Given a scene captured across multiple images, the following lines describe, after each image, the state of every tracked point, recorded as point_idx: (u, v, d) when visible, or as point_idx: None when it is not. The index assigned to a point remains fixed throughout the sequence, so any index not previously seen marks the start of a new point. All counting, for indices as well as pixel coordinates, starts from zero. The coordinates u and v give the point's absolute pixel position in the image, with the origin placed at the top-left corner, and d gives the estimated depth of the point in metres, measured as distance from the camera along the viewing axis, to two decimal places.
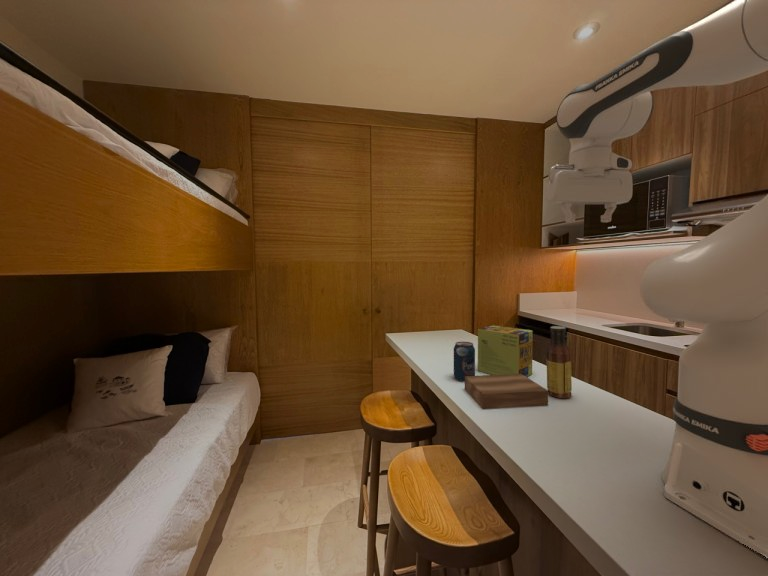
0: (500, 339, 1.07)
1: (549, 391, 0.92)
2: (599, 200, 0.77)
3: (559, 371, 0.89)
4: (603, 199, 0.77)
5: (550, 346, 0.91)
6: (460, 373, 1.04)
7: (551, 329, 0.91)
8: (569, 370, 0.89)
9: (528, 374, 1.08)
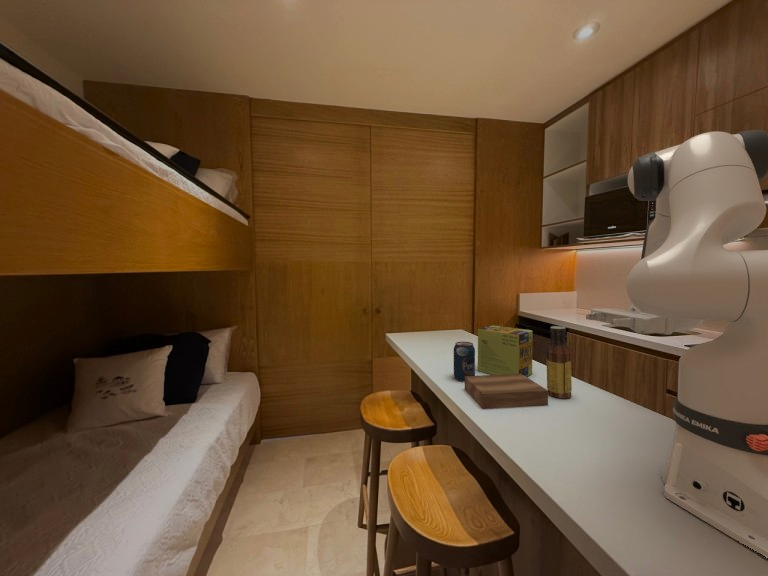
0: (500, 339, 1.07)
1: (549, 391, 0.92)
2: (619, 313, 0.91)
3: (559, 371, 0.89)
4: (623, 314, 0.90)
5: (550, 346, 0.91)
6: (460, 373, 1.04)
7: (551, 329, 0.91)
8: (569, 370, 0.89)
9: (528, 374, 1.08)
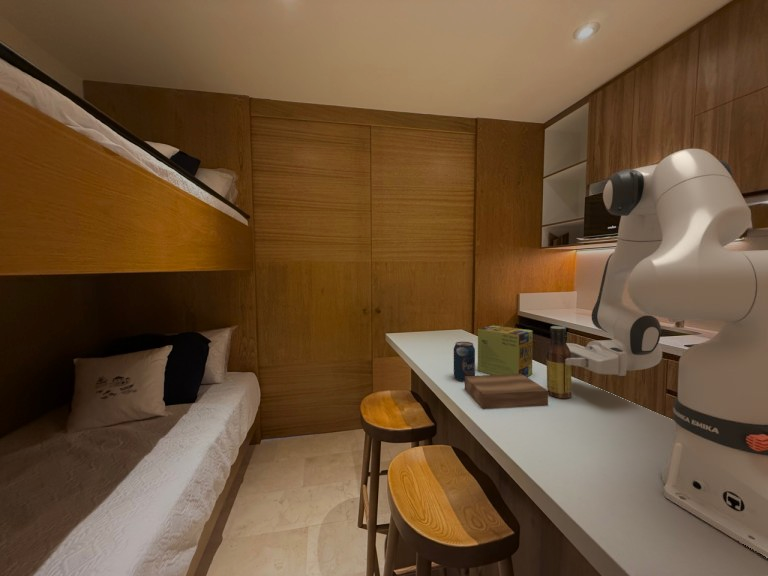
0: (500, 339, 1.07)
1: (549, 391, 0.92)
2: (576, 352, 0.90)
3: (559, 371, 0.89)
4: (579, 353, 0.89)
5: (550, 346, 0.91)
6: (460, 373, 1.04)
7: (551, 329, 0.91)
8: (569, 370, 0.89)
9: (528, 374, 1.08)
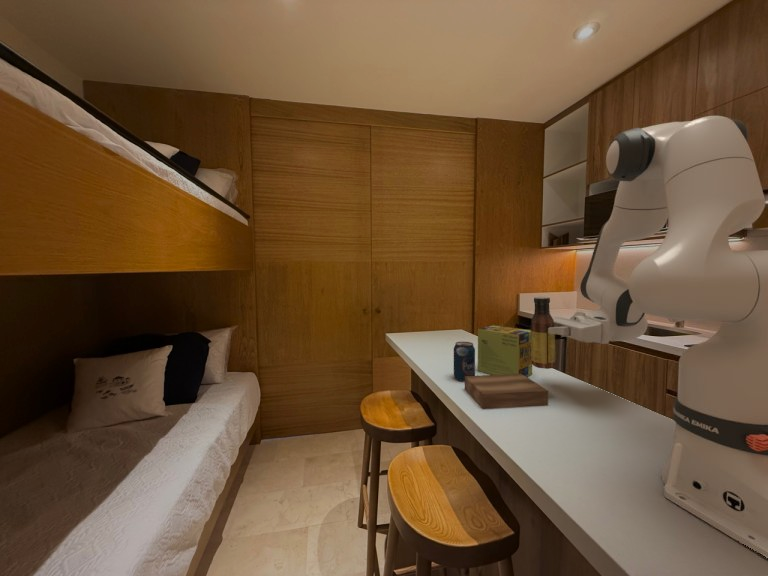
0: (500, 339, 1.07)
1: (533, 362, 0.91)
2: (559, 322, 0.90)
3: (542, 341, 0.88)
4: (562, 322, 0.89)
5: (534, 316, 0.90)
6: (460, 372, 1.04)
7: (535, 299, 0.90)
8: (552, 340, 0.88)
9: (528, 374, 1.08)
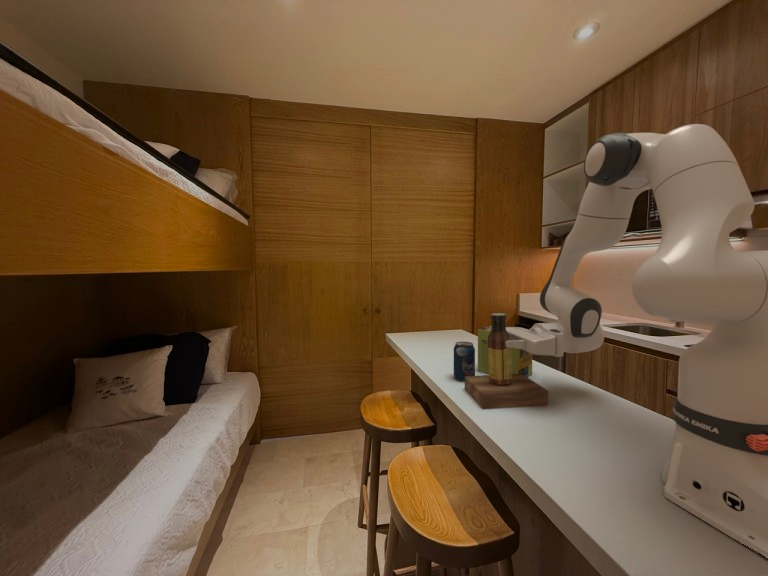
0: None
1: (490, 378, 0.92)
2: (517, 334, 0.89)
3: (498, 358, 0.89)
4: (519, 335, 0.88)
5: (490, 333, 0.91)
6: (460, 373, 1.04)
7: (491, 316, 0.91)
8: (508, 357, 0.89)
9: (528, 374, 1.08)
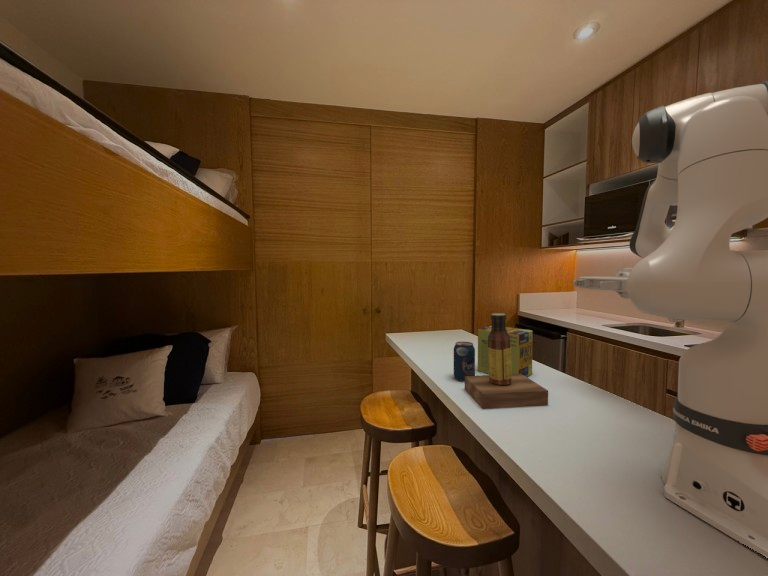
0: None
1: (490, 378, 0.92)
2: (607, 278, 0.89)
3: (498, 358, 0.89)
4: (610, 277, 0.88)
5: (490, 333, 0.91)
6: (460, 372, 1.04)
7: (491, 316, 0.91)
8: (508, 357, 0.89)
9: (528, 374, 1.08)
